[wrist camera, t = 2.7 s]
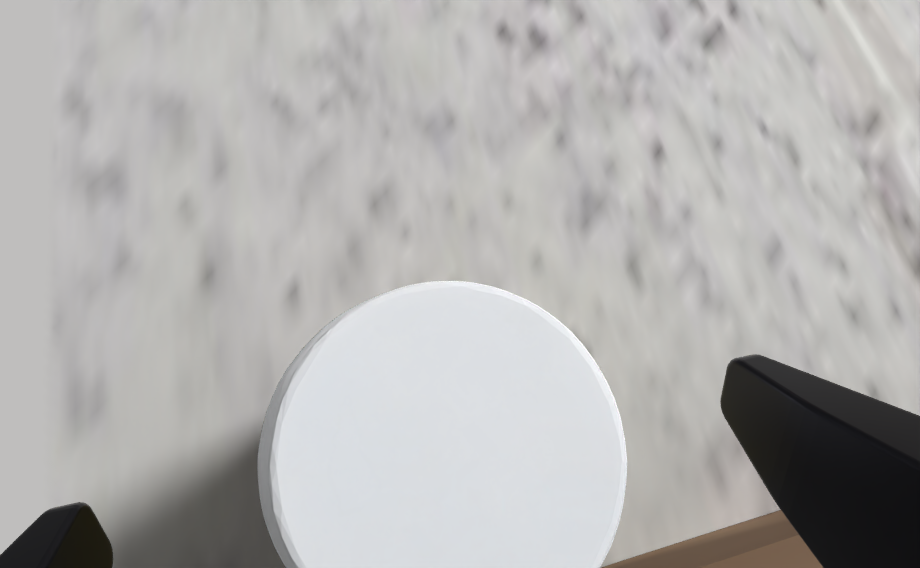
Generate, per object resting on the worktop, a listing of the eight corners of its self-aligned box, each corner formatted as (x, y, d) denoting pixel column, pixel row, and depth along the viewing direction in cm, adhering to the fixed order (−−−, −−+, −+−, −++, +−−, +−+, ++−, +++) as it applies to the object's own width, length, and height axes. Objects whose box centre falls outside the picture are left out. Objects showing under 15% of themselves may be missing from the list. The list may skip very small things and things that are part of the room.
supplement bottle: (267, 449, 15) (82, 432, 6) (422, 314, 17) (467, 133, 7) (406, 614, 15) (442, 888, 5) (555, 458, 16) (786, 457, 7)
